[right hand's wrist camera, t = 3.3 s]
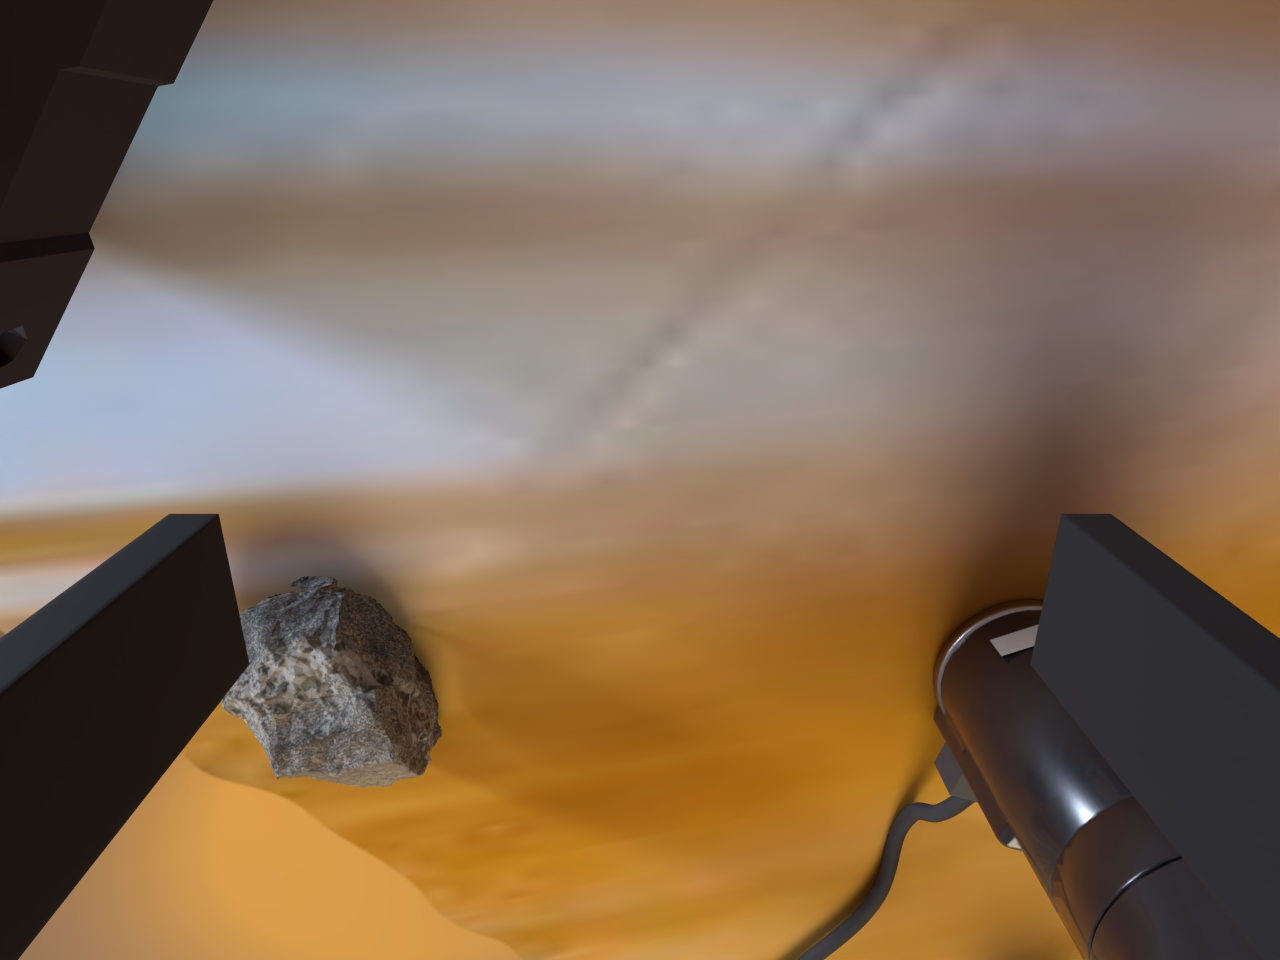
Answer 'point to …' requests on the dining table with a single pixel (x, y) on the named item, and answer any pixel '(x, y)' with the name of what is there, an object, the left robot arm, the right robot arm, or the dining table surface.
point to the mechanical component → (69, 142)
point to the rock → (334, 688)
